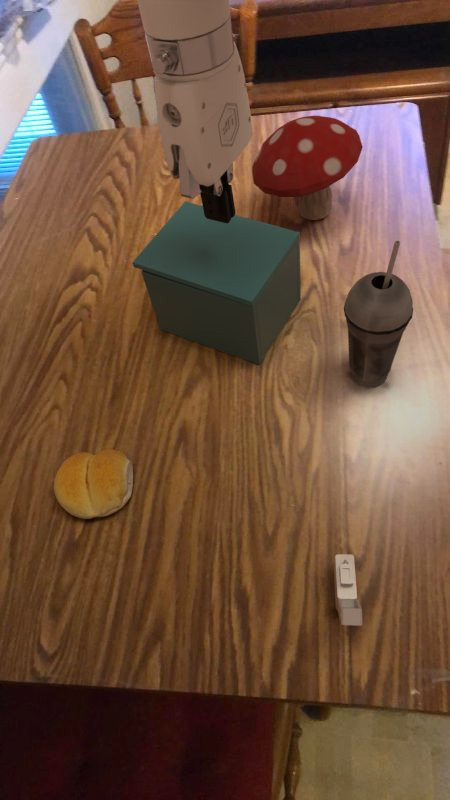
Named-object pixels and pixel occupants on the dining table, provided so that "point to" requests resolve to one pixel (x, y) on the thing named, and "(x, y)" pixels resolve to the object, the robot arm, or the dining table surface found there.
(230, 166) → the robot arm
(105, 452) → the bread roll
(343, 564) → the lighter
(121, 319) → the dining table surface
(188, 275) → the lid
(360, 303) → the beverage cup
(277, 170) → the decorative mushroom
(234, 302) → the chest
